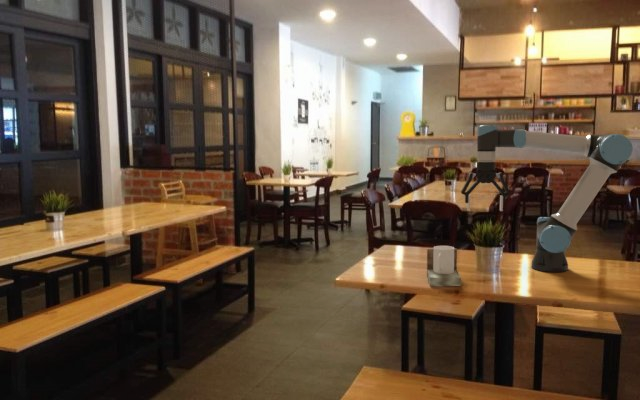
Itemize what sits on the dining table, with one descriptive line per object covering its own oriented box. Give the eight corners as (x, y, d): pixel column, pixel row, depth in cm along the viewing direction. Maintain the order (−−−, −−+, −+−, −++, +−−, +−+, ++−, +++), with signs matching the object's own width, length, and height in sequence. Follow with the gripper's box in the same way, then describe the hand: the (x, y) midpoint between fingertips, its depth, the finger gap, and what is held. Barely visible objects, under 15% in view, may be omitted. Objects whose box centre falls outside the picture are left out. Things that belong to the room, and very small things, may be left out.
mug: (448, 277, 223) (448, 252, 222) (428, 275, 227) (428, 250, 226) (456, 271, 234) (456, 246, 232) (436, 269, 237) (436, 244, 236)
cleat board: (455, 276, 239) (456, 248, 237) (460, 286, 223) (461, 256, 221) (426, 275, 240) (427, 248, 239) (429, 286, 224) (430, 256, 223)
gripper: (514, 160, 244) (512, 209, 246) (455, 161, 247) (454, 209, 249) (518, 161, 237) (516, 212, 239) (457, 161, 239) (456, 211, 242)
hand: (484, 210), depth 244 cm, fingers open, 13 cm apart
